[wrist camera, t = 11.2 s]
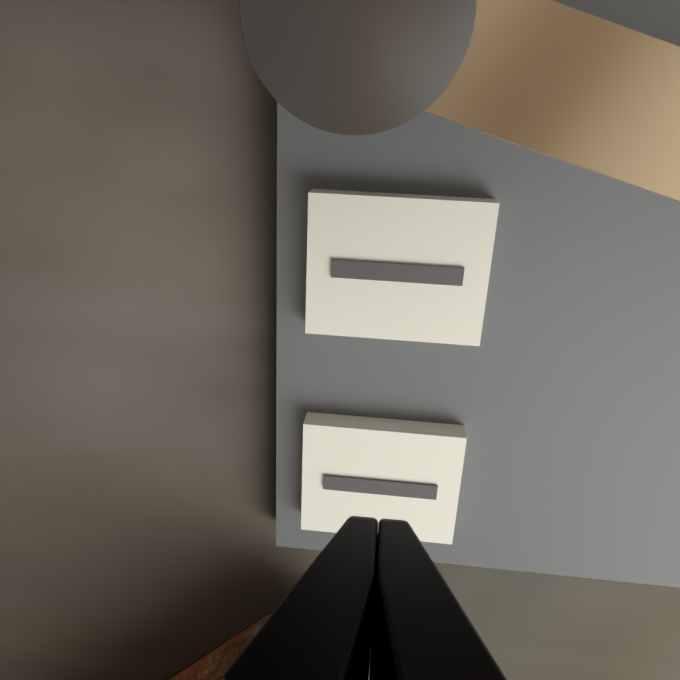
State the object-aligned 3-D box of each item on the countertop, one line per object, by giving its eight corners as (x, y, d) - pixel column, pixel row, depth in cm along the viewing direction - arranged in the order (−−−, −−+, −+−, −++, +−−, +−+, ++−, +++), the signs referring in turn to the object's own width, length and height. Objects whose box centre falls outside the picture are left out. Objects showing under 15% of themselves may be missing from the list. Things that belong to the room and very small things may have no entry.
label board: (282, 524, 22) (249, 639, 17) (286, -55, 15) (233, -132, 11) (668, 562, 21) (748, 696, 16) (855, -41, 14) (1088, -120, 9)
